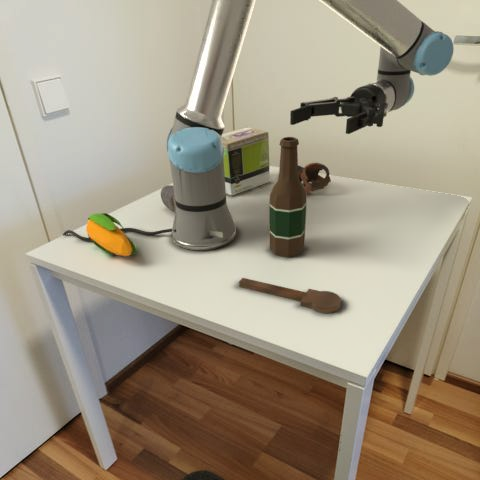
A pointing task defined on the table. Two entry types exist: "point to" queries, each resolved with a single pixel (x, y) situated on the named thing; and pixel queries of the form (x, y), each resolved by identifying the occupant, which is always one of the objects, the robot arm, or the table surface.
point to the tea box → (245, 159)
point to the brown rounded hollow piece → (313, 177)
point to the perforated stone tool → (169, 197)
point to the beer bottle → (287, 204)
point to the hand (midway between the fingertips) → (318, 122)
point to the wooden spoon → (298, 295)
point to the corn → (109, 235)
